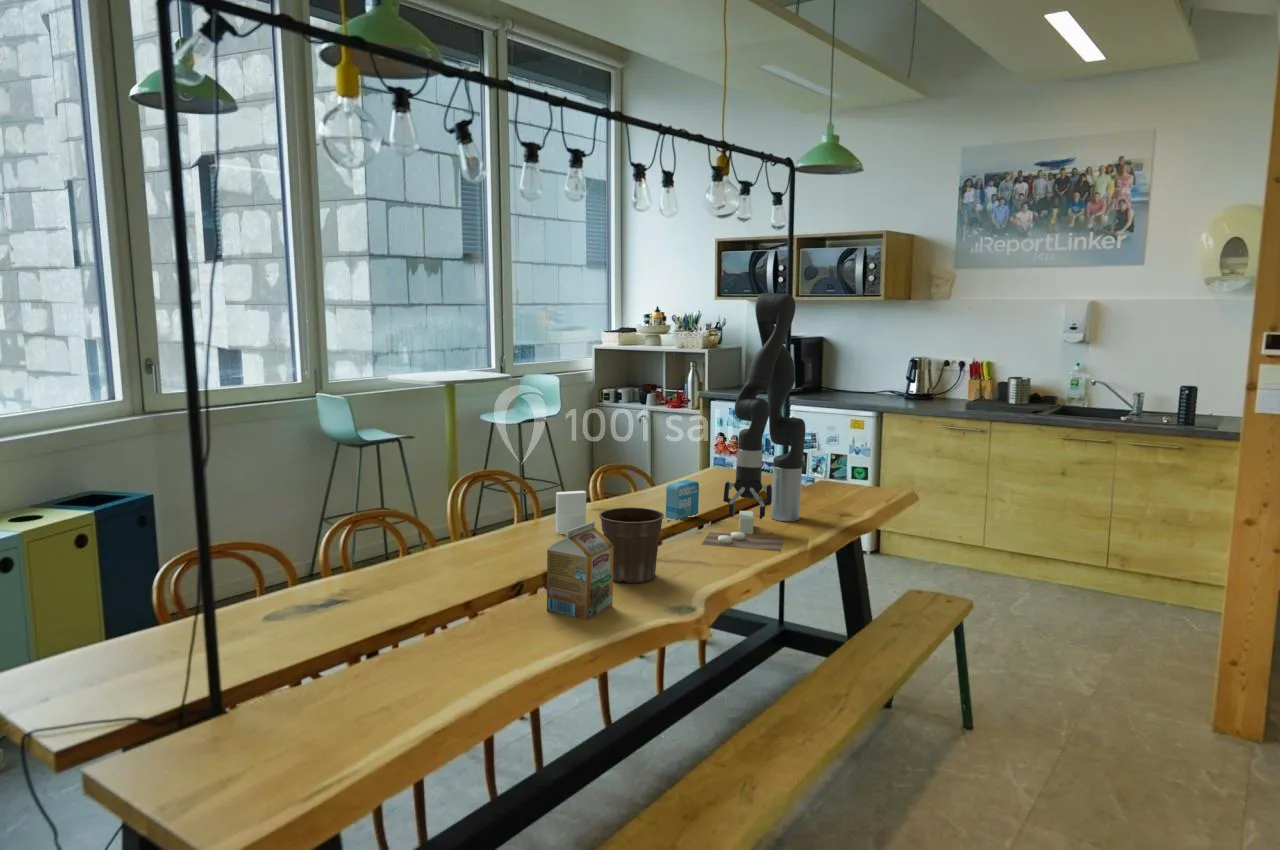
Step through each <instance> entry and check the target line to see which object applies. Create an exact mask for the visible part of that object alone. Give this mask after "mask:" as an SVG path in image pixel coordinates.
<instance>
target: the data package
mask: <svg viewBox="0 0 1280 850" xmlns="http://www.w3.org/2000/svg"><path fill="white" fill-rule="evenodd" d="M665 491H666V494H665V519H666V518H670V519H675V520H679V519H681V520H682V519H684V518H685V517H688V516H692V515H696V514H698V515H699V501H700V500H699V499H700V498H699V497H700V485H699V482H698V481H695V480H689V479H685V480H680V481H676V482H675V481H674V482H672V483H668V485H667V486H666V489H665ZM685 519H686V518H685Z"/></svg>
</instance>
